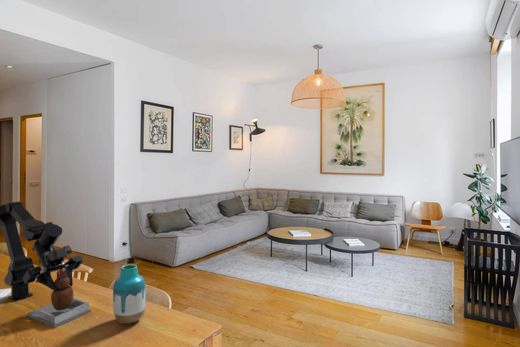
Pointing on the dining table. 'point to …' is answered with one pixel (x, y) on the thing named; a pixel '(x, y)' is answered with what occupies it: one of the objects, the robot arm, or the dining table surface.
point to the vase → (129, 295)
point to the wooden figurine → (62, 292)
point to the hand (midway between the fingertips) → (64, 288)
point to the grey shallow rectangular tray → (60, 313)
